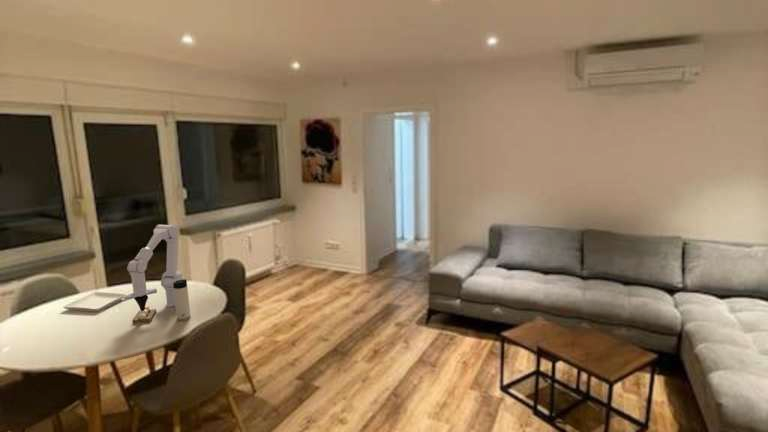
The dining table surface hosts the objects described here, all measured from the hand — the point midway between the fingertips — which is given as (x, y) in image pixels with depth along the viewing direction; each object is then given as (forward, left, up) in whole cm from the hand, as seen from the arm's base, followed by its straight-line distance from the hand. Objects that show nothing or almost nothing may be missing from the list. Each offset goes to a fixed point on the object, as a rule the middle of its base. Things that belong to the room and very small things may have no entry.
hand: (142, 310), depth 213 cm
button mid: (0, -2, -3) cm, 4 cm away
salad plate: (+30, -30, -6) cm, 43 cm away
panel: (0, -2, -5) cm, 6 cm away
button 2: (0, -6, -3) cm, 7 cm away
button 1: (0, +1, -4) cm, 4 cm away
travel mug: (-19, +4, -6) cm, 20 cm away
